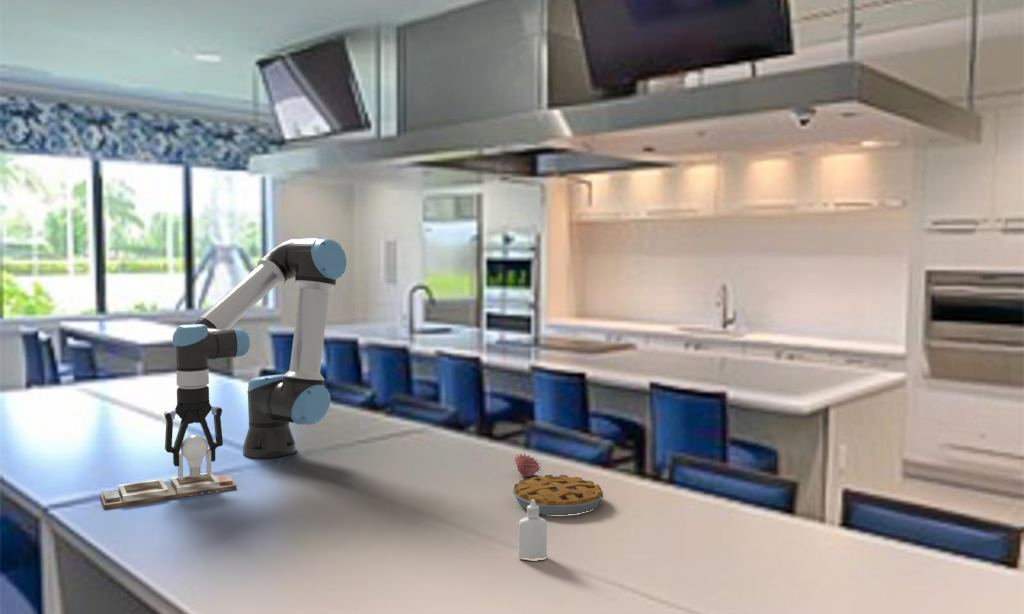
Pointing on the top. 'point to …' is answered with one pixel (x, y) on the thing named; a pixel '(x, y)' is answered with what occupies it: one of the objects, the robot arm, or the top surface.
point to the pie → (558, 494)
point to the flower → (527, 465)
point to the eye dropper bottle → (532, 534)
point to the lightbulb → (194, 453)
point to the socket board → (164, 490)
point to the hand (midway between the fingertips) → (194, 476)
